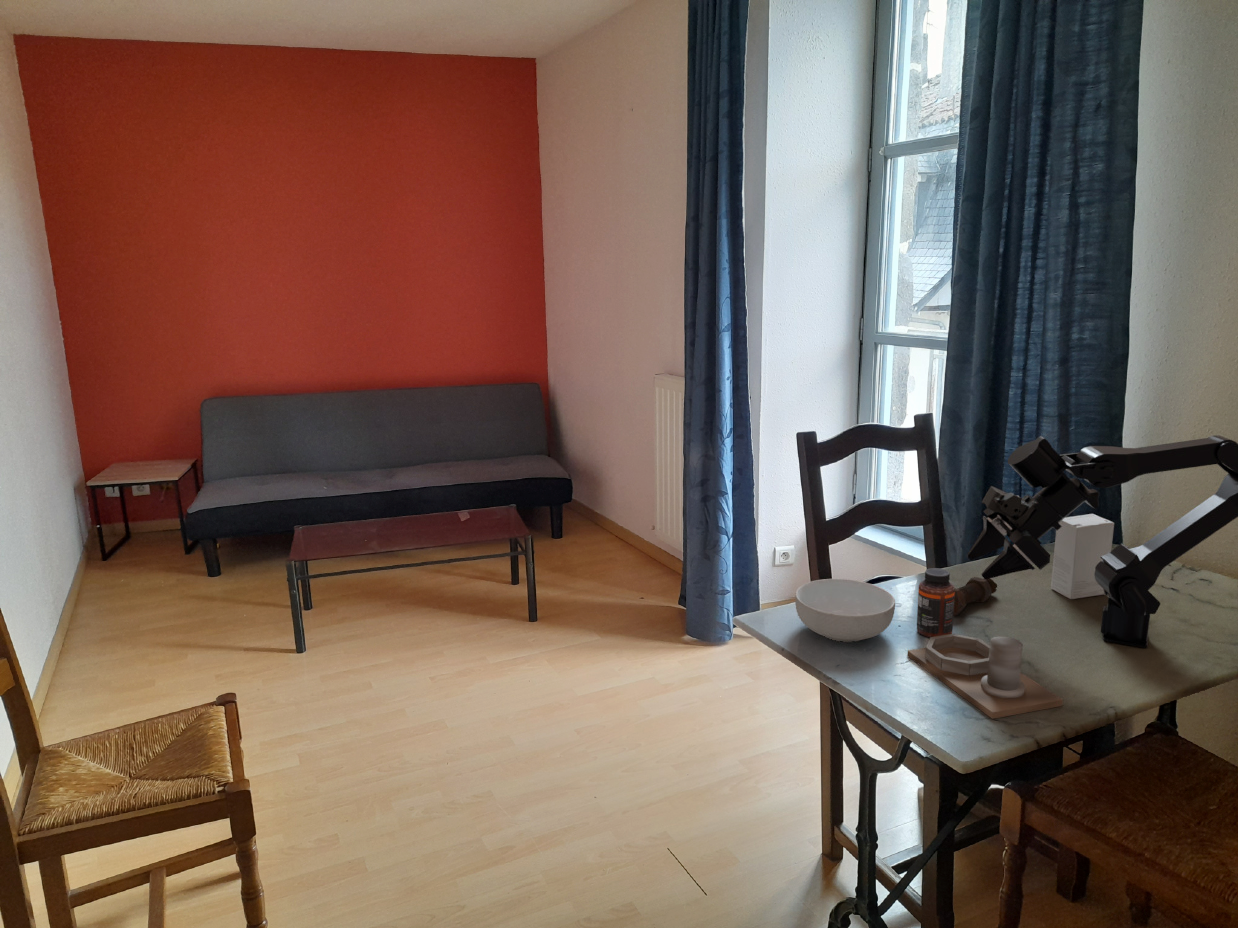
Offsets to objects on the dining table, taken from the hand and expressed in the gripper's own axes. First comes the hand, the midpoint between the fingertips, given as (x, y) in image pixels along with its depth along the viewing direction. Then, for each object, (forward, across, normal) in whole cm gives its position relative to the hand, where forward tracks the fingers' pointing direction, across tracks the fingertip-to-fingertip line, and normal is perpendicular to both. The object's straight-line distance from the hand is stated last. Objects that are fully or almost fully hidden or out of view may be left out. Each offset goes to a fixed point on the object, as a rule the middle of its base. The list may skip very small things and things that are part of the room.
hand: (975, 567), depth 149 cm
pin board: (+11, +17, +7) cm, 21 cm away
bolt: (+7, -14, +11) cm, 19 cm away
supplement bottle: (+13, 0, +4) cm, 14 cm away
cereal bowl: (+24, +1, -6) cm, 25 cm away
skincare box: (-9, -21, +26) cm, 35 cm away
